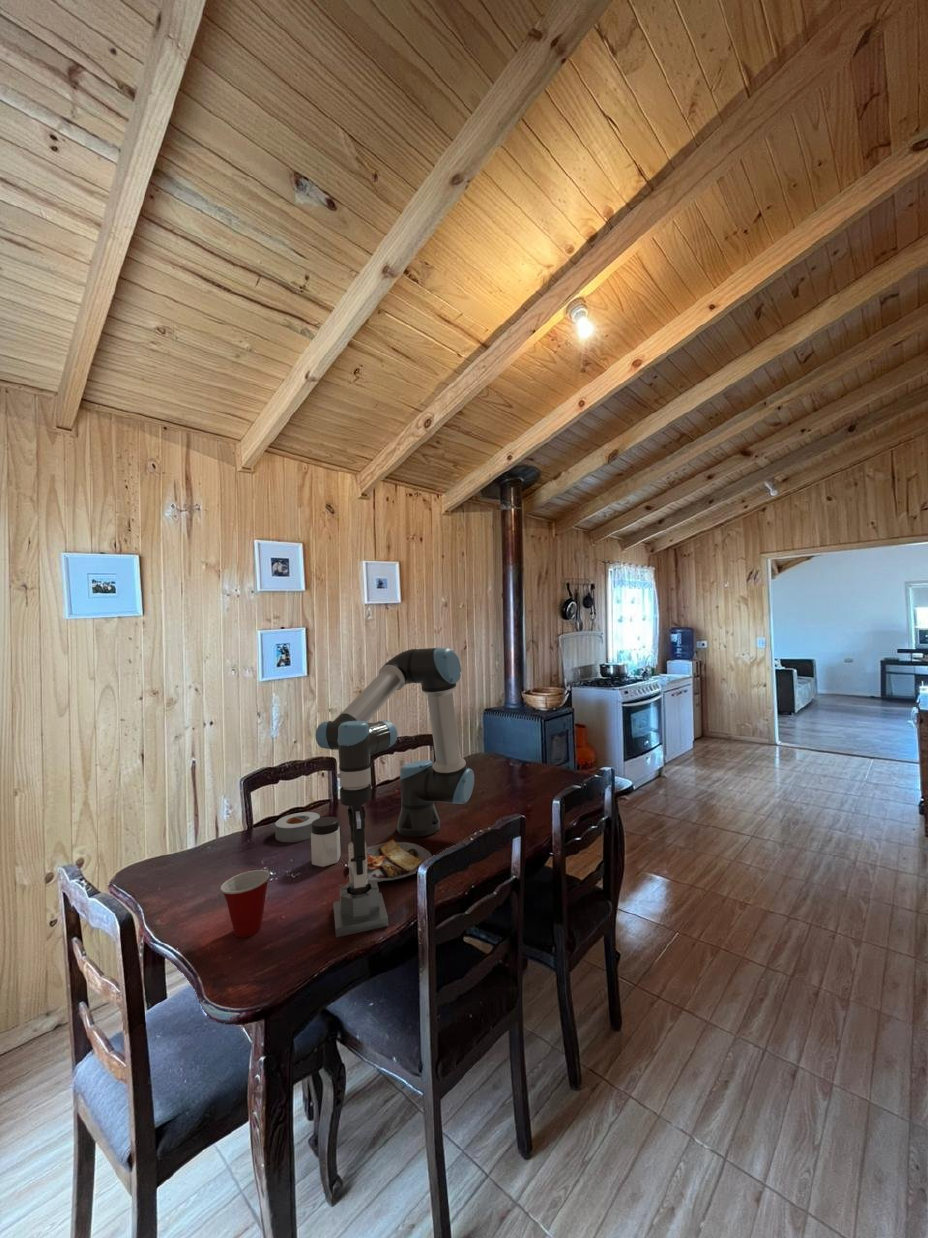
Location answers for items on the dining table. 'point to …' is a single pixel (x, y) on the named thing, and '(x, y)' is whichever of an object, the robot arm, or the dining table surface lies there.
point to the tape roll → (295, 827)
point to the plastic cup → (246, 900)
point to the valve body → (359, 910)
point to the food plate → (394, 859)
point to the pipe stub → (351, 875)
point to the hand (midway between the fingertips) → (358, 882)
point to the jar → (325, 841)
